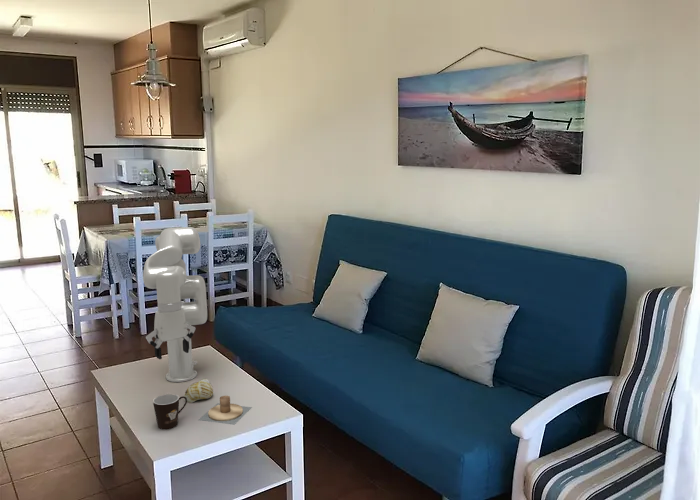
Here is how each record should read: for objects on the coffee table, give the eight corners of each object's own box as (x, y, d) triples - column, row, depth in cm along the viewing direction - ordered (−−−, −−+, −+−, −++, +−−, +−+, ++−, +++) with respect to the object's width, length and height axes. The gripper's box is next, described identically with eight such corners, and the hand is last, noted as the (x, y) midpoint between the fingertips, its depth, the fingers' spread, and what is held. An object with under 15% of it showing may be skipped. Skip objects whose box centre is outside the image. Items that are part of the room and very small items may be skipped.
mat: (217, 404, 219) (217, 403, 219) (252, 408, 215) (252, 407, 215) (198, 421, 205) (198, 419, 205) (234, 426, 202) (234, 424, 202)
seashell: (177, 402, 219) (182, 375, 222) (192, 404, 228) (196, 378, 231) (201, 404, 216) (205, 377, 219) (215, 406, 225) (219, 380, 227)
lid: (218, 404, 217) (217, 389, 216) (248, 408, 214) (247, 392, 213) (202, 419, 206) (201, 403, 205) (233, 422, 203) (232, 406, 202)
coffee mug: (156, 434, 196) (154, 406, 195) (153, 423, 204) (151, 396, 202) (191, 427, 201) (189, 400, 199) (187, 417, 209) (186, 390, 207)
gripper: (188, 300, 208) (191, 347, 211) (140, 309, 197) (143, 358, 200) (198, 304, 203) (200, 352, 205) (148, 313, 192) (152, 363, 194)
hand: (172, 355), depth 203 cm, fingers open, 9 cm apart
